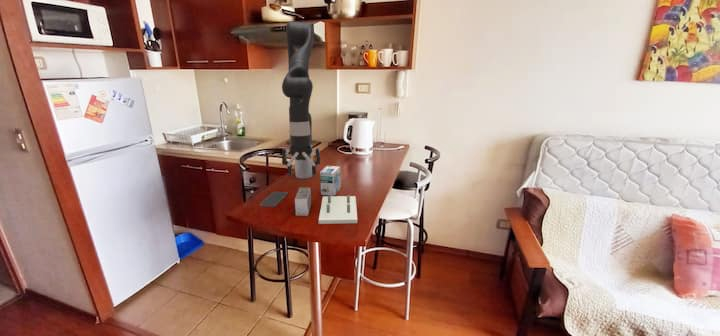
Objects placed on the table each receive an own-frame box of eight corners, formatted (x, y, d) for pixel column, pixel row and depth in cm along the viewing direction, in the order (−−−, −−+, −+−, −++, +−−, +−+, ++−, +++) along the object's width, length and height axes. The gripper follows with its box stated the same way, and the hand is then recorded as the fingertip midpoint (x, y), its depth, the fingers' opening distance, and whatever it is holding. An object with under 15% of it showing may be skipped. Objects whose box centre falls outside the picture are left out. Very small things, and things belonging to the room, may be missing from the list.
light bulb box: (334, 196, 135) (334, 173, 131) (320, 194, 136) (319, 172, 133) (341, 187, 145) (340, 166, 141) (327, 186, 146) (326, 165, 143)
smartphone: (257, 205, 124) (273, 191, 138) (258, 207, 124) (273, 193, 138) (275, 206, 123) (288, 192, 137) (275, 208, 123) (288, 194, 137)
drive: (300, 203, 127) (299, 187, 125) (311, 203, 127) (310, 187, 125) (295, 216, 116) (294, 199, 114) (308, 215, 116) (307, 198, 114)
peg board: (322, 199, 131) (322, 190, 129) (355, 199, 131) (355, 189, 130) (318, 223, 110) (318, 212, 108) (357, 223, 110) (357, 212, 109)
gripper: (320, 131, 117) (321, 171, 121) (282, 131, 116) (285, 172, 121) (318, 135, 109) (320, 177, 114) (278, 135, 109) (281, 178, 113)
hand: (302, 174), depth 117 cm, fingers open, 8 cm apart
